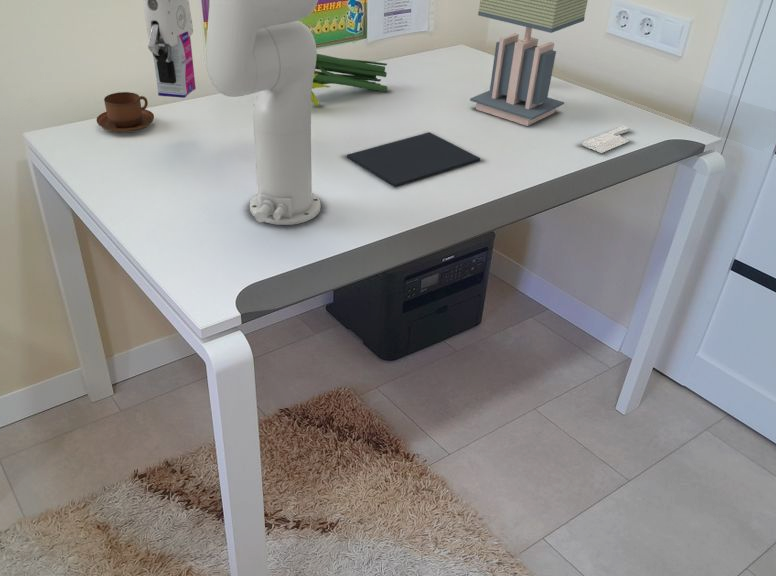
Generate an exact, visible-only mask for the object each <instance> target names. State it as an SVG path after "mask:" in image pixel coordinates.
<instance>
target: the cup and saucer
mask: <svg viewBox="0 0 776 576" xmlns="http://www.w3.org/2000/svg"><path fill="white" fill-rule="evenodd" d="M141 100H143V101H144V105H143V106H142V103H141ZM103 102H104V106H105V111H104V112H102V113H100V114H99V115H98V116H97V117H96V123H97V125H98V126H99V127H100V128H102V129H103V130H106V131H109V132H112V133H113V132H114V133H132V132H136V131H141V130H143V129H145V128H147V127H148V126H150V125H152V124H153V122H154V120H155V115H154V113H153V112H152V111H150V110H148V109H147V107H148V105H149V102H148V99H147V97H145V96H144V95H139V94H137V93H136V92H130V91H121V92H120V91H119V92H114V93H111V94H108V95H106V96H104V98H103Z"/></svg>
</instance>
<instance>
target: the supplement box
mask: <svg viewBox="0 0 776 576" xmlns="http://www.w3.org/2000/svg"><path fill="white" fill-rule="evenodd" d="M188 34H189V33H188V31H187V32H185V33H182V34H180V35H178V36H177V39H178V44H177V45H176V46H171V61H173V63H174V70H175V77H176V83H174V84H171V83H161V82H160V80H159V74H158V68H157V62H156V61H155V57H154V56H153V55H152V57H153V58H152V59H153V63H154V65H153V66H154V71H155V80H156V86H157V95H158V97H170V98H181V99H185V98H186V97H188V96H189V95H190V93H192V92H194V91H195V90H196V78H195V77H196V76H195V68H194V60H193V59H194V58H193V50H192V49H193V48H192V39H191V36H189V35H188ZM159 43H164V44H166V43H165V42H164V40H159ZM160 49H162V50H163V51H164V52H165V54H166V48H164V47H160Z"/></svg>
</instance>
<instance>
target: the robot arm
mask: <svg viewBox="0 0 776 576" xmlns="http://www.w3.org/2000/svg"><path fill="white" fill-rule="evenodd" d="M318 2H319V0H209V5H208V16H207V18H208V19H207V29H206V30H207V31H206V39H205V40H206V41H205V64H206V69H207V70H206V72H207V74H208V77H209V80H210V82H211V85H212V86H213V87H214V89H215V90H216V91H217V92H218V93H220V94H221V95H223V96H226V97H229V98H238V97H244V96H248V95H252V94H256V96H255V100H254V102H253V108H252V126H253V141H254V142H253V143H254V144H253V145H254V158H255V159H254V160H255V173H256V187H257V189H256V191H257V193H256V194H255V195H254V196H252V198H251V199H250V201H249V211H250V213H251V215H252V216H253V217H254V219H255V221H257V222H258V223H266V224H271V225H276V226H290V225H291V226H292V225H297V224H302V223H306V222H308V221H310V220H312V219H314V218H315V217H317V215H319V213H320V212H321V208H322V206H321V200H320V198H319V197H318V195H316V194H315V193H313V189H312V188H313V187H312V186H313V185H312V184H313V183H312V180H313V179H312V101H311V92H313V88H312V84H313V77H314V72H315V71H316V69H315V66H316V57H317V54H318V53H317V52H318V51H317V44H316V39H315V37H314V34H313V33H312V31H311V29H309V27H308V26H307V25H306V24H304V23H303V22H302V21H300V20H303V19H306V18H307V17H310V15H311V14H312V13H314V11H315V10H316V7H317V5H318ZM143 10H144V19H145V20H144V21H145V27H146V33H147V37H148V44H147V48H148V50H149V51H150V53H151V54H152V57H153V56H154V57H155V61H156V62H157V68H158V74H159V80H160V82H161V83H171V84H174V83H176V77H175V70H174V63H173V61H171V46H176V45H177V44H178V39H177V36H178V35H180V34H182V33H185V32H187V31H188V33H189V34H188V35H189V36H190V37H191V36H192V35H193V33H194V26H193V20H192V19H193V18H192V14H191V7H190V1H189V0H143ZM159 40H164V42H165V43H166V44H164V43H159ZM160 47H164V48H166V54H165V52H164V51H163V50H162V49H160Z"/></svg>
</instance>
